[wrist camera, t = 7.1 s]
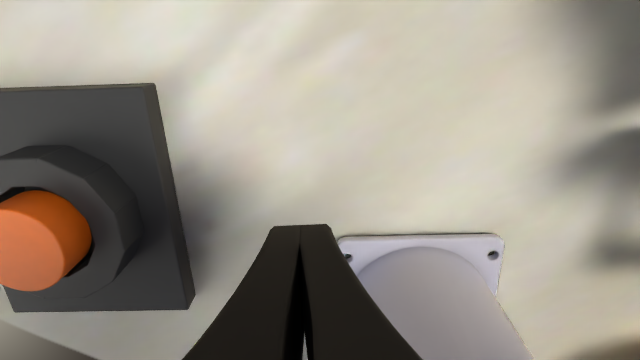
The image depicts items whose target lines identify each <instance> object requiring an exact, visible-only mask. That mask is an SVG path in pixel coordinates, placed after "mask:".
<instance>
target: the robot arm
mask: <svg viewBox="0 0 640 360" xmlns="http://www.w3.org/2000/svg"><path fill="white" fill-rule="evenodd" d="M504 247H505V242H504V241H503V239H502V238H501V237H500V236H499V235H497V234H456V235H407V236H358V237H343V238H341V239H339V241H338V242H336V240H335V238H334V235H333V233H332V230H331V228H330V227H329V226H328V225H327V224H316V225H293V226H274V227H273V228H272V229H271V230H270V231H269V234H268V236H267V238H266V240H265V242H264V244H263V246H262V248H261V250H260V252H259V253H258V255H257V257H256V259H255V260H254V262H253V264H252V265H251V267H250V269H249V270H248V272H247V273H246V275H245V277H244V278H243V280H242V281H241V283H240V284H239V286H238V288H237V289H236V291H235V292H234V293H233V295H232V296H231V298H230V299H229V300H228V302H227V303H226V305H225V306H224V307H223V309H222V310H221V311H220V313H219V314H218V316H217V317H216V318H215V320H214V321H213V322H212V324H211V325H210V326H209V328H208V329H207V330H206V331H205V333H204V334H203V335H202V336H201V338H200V339H199V340H198V341H197V343H196V344H195V345H194V346H193V347H192V349H191V350H190V351H189V352H188V353H187V354H186V356H185V357H184V358H183V359H182V360H302V358H303V345H304V331H305V340H306V348H307V357H308V360H535V359H534V358H533V356H532V354H531V353H530V351H529V350H528V348H527V347H526V345H525V343H524V342H523V340H522V339H521V337H520V336H519V334H518V332H517V331H516V329H515V328H514V326H513V325H512V323H511V321H510V320H509V318H508V317H507V315H506V314H505V312H504V310H503V309H502V307H501V306H500V304H499V303H498V301H497V299H496V294H497V288H498V282H499V277H500V271H501V265H502V259H503V253H504ZM491 251H495V253H494V254H493V255H490V256H488V254H489V253H490V252H491ZM344 254H350V255H352V256H351V257H350V258H345V257H344Z"/></svg>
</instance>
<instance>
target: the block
mask: <svg viewBox="0 0 640 360" xmlns="http://www.w3.org/2000/svg"><path fill="white" fill-rule="evenodd" d="M32 190H38V191H46V192H50V193H53V194H56V195H59V196H61V197H63V198H64V199H66V200H68V201H69V202H70V203H71V204H72V205H73V206H74V207H75V208H76V209H77V210H78V211H79V212H80V213H81V214H82V215H83V217H84V218H85V219H86V220H87V222H88V224H89V227H90V231H91V238H92V239H91V246H90V249H89V251H88V253H87V255H86V256H85V257H84V258H83V259H82V260H81V261H80V262H79V263H78V264H77V265H76V266H74V267H73V268H72V269H71V270H70V271H69V272H68V273H67V274H66V275H65V276H64V277H63V278H61V279H60V280H59V281H58V282H57V283H56V284H54V285H53V286H51V287H49V288H47V289H44V290H39V291H21V290H16V289H12V288H9V287H7V286H4V285H3V287H4V289H5V291H6V294H7V296H8V299H9V301H10V303H11V306H12V308H13V311H14V312H77V311H143V310H188V309H189V307H190V305H191V303H192V301H193V299H194V297H195V289H194V284H193V279H192V274H191V268H190V263H189V258H188V253H187V248H186V242H185V237H184V232H183V227H182V222H181V216H180V211H179V206H178V201H177V196H176V190H175V185H174V180H173V175H172V169H171V164H170V159H169V154H168V149H167V143H166V138H165V133H164V128H163V123H162V117H161V112H160V107H159V102H158V96H157V91H156V86H155V84H154V83H141V84H111V85H81V86H51V87H20V88H0V203H1V202H3V201H5V200H7V199H9V198H11V197H13V196H15V195H17V194H19V193H22V192H25V191H32Z"/></svg>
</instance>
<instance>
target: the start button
mask: <svg viewBox="0 0 640 360" xmlns="http://www.w3.org/2000/svg"><path fill="white" fill-rule="evenodd" d="M91 239H92V238H91V231H90V227H89V224H88V222H87V220H86V219H85V218H84V217H83V215H82V214H81V213H80V212H79V211H78V210H77V209H76V208H75V207H74V206H73V205H72V204H71V203H70V202H69V201H68V200H66V199H64V198H63V197H61V196H59V195H56V194H53V193H50V192H46V191H38V190H32V191H25V192H22V193H19V194H17V195H15V196H13V197H11V198H9V199H7V200H5V201H3V202H1V203H0V284H2V285H4V286H7V287H9V288H12V289H16V290H21V291H39V290H44V289H47V288H49V287H51V286H53V285H54V284H56V283H57V282H58V281H59V280H60V279H61V278H63V277H64V276H65V275H66V274H67V273H68V272H69V271H70V270H71V269H72V268H73V267H74V266H76V265H77V264H78V263H79V262H80V261H81V260H82V259H83V258H84V257H85V256H86V255H87V253H88V251H89V249H90V246H91Z"/></svg>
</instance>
